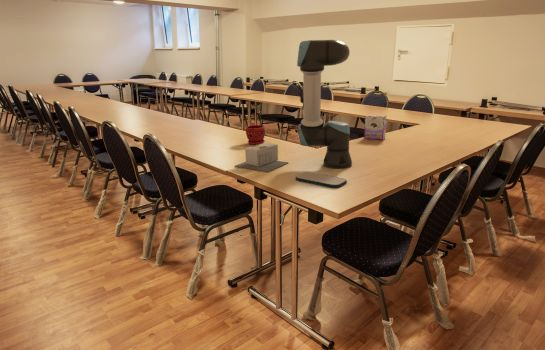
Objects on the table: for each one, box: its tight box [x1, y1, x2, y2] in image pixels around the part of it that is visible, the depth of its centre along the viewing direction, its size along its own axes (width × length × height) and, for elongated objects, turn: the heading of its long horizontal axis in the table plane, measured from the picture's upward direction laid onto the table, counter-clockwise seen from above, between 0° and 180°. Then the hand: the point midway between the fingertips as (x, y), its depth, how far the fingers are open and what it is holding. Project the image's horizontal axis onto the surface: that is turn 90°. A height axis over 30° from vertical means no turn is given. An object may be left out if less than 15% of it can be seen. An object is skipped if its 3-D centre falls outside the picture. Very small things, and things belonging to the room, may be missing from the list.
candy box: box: [363, 114, 387, 141], centre depth 267 cm, size 14×6×16 cm, turn 58°
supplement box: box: [244, 142, 279, 166], centre depth 212 cm, size 10×9×17 cm
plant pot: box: [245, 124, 266, 146], centre depth 262 cm, size 13×13×12 cm
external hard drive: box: [295, 171, 348, 189], centre depth 179 cm, size 24×12×2 cm, turn 52°
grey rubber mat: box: [234, 160, 289, 173], centre depth 209 cm, size 22×20×1 cm
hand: (304, 114), depth 228 cm, fingers closed
